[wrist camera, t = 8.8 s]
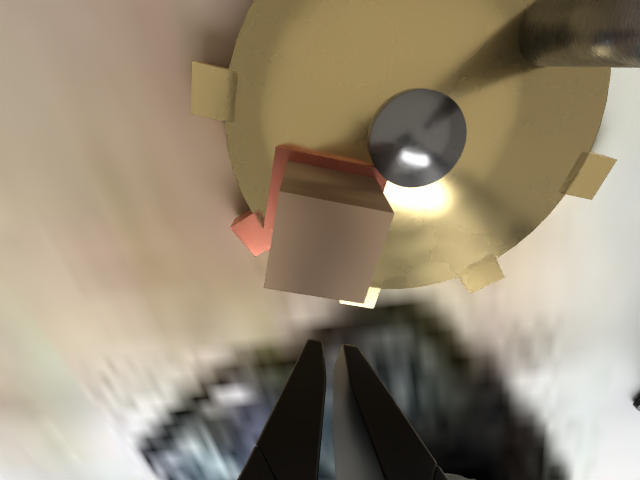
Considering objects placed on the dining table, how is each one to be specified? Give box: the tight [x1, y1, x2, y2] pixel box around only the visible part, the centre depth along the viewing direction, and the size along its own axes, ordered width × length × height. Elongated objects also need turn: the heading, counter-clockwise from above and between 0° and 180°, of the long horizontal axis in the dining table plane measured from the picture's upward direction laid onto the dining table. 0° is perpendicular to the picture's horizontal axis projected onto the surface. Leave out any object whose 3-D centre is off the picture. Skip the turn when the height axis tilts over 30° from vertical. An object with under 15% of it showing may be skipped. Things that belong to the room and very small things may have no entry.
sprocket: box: [191, 0, 640, 308], centre depth 13 cm, size 21×21×10 cm
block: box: [264, 160, 395, 304], centre depth 16 cm, size 4×4×4 cm
